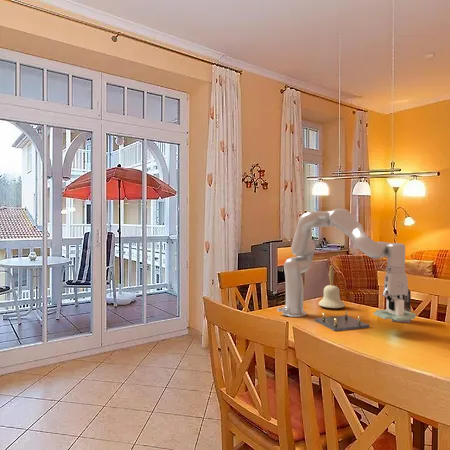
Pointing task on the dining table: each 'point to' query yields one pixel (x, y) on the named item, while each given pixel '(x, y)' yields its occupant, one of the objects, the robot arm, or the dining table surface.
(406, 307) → the coffee box
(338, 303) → the handbell
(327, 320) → the plate
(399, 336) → the dining table surface
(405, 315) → the board
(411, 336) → the dining table surface
